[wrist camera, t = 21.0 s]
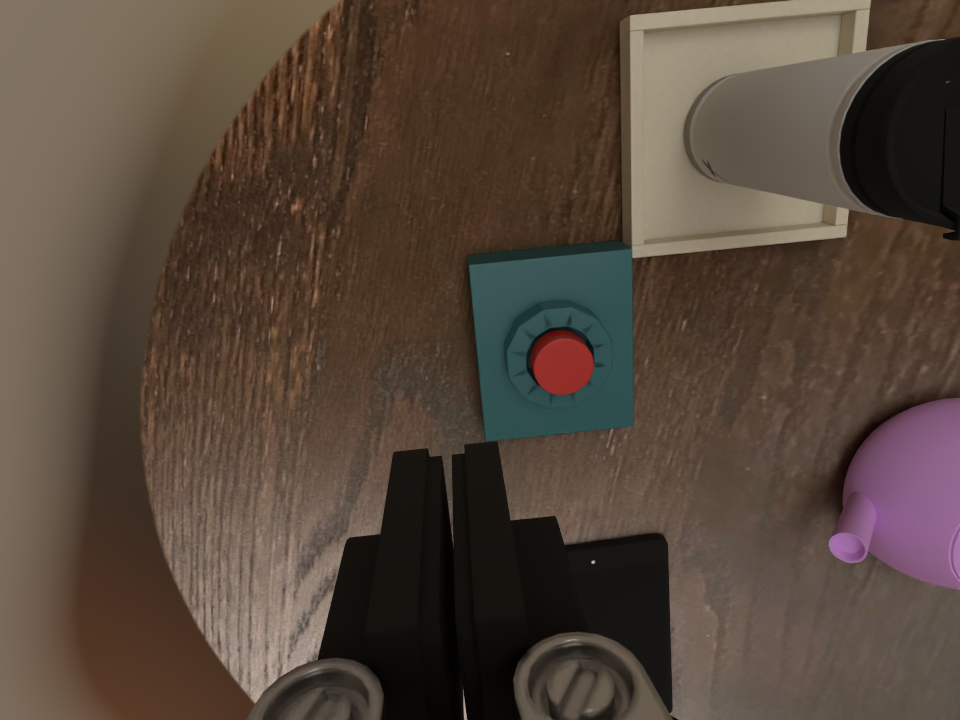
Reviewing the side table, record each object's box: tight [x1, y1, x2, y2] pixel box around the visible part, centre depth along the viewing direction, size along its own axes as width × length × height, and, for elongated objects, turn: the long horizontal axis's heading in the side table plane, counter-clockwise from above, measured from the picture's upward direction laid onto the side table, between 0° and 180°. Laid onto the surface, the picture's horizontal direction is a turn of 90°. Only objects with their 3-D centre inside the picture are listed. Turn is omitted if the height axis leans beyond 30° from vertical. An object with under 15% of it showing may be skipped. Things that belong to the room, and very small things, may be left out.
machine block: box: [467, 240, 634, 441], centre depth 42 cm, size 12×10×5 cm
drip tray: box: [620, 0, 871, 258], centre depth 39 cm, size 14×14×2 cm
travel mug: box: [684, 37, 960, 240], centre depth 30 cm, size 6×7×20 cm
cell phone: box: [565, 534, 672, 713], centre depth 53 cm, size 9×18×1 cm, turn 7°
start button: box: [530, 330, 594, 395], centre depth 39 cm, size 4×4×2 cm
